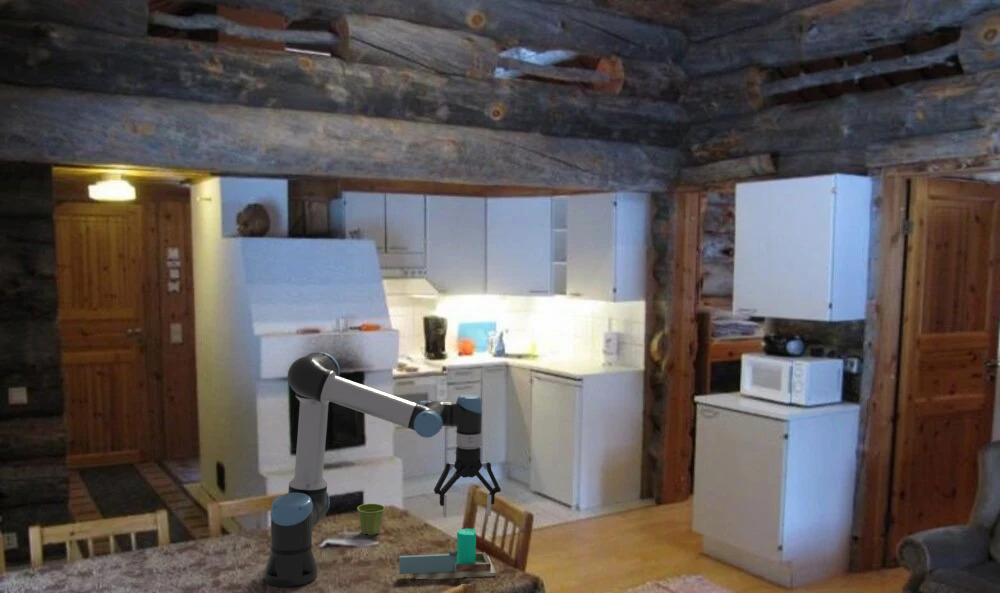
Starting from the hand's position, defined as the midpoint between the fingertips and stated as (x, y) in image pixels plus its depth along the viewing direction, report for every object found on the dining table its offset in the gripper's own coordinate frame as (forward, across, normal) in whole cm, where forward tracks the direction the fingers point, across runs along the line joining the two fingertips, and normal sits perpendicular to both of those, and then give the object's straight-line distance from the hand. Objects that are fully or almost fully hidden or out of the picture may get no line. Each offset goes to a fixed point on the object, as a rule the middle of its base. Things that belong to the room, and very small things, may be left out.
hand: (466, 515), depth 248 cm
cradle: (+16, -4, 0) cm, 17 cm away
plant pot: (+17, -28, +36) cm, 48 cm away
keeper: (+15, -12, -5) cm, 20 cm away
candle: (+16, 0, 0) cm, 16 cm away
